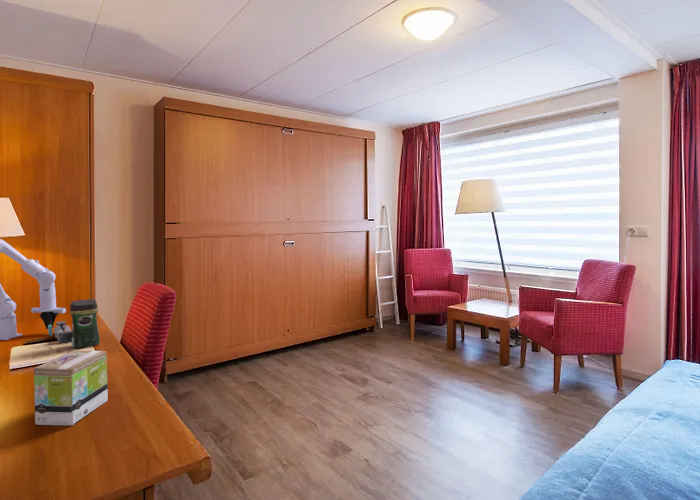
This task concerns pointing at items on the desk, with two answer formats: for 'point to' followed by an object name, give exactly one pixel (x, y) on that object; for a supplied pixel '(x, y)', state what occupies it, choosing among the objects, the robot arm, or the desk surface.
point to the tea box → (70, 387)
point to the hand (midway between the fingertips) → (49, 328)
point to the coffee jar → (84, 323)
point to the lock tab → (50, 330)
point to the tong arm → (60, 332)
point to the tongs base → (67, 332)
